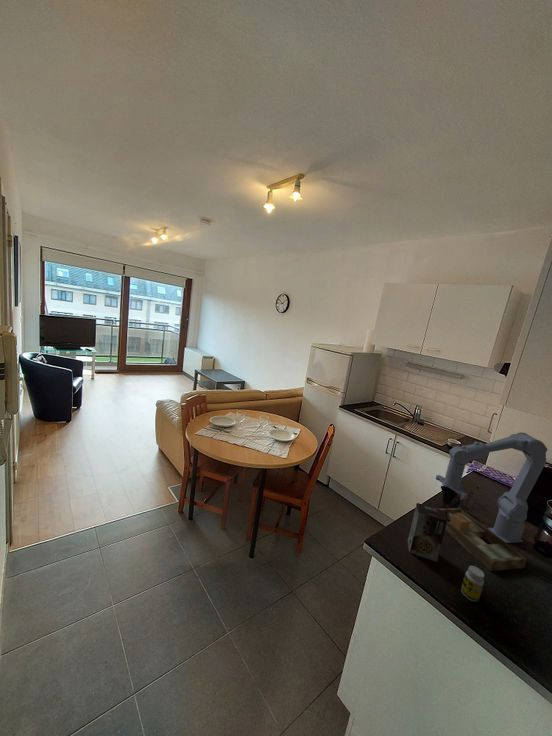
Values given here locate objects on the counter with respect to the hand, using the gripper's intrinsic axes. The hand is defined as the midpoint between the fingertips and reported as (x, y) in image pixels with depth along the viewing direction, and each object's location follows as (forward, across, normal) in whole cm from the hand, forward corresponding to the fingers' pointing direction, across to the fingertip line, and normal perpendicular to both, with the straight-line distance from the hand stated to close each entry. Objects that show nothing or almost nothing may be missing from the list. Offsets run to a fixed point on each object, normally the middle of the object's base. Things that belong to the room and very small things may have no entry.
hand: (446, 503), depth 123 cm
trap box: (+8, +12, +3) cm, 14 cm away
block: (+5, +8, 0) cm, 9 cm away
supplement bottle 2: (+8, +33, -22) cm, 40 cm away
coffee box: (+8, +16, -25) cm, 30 cm away
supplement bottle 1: (+8, -7, +13) cm, 17 cm away
